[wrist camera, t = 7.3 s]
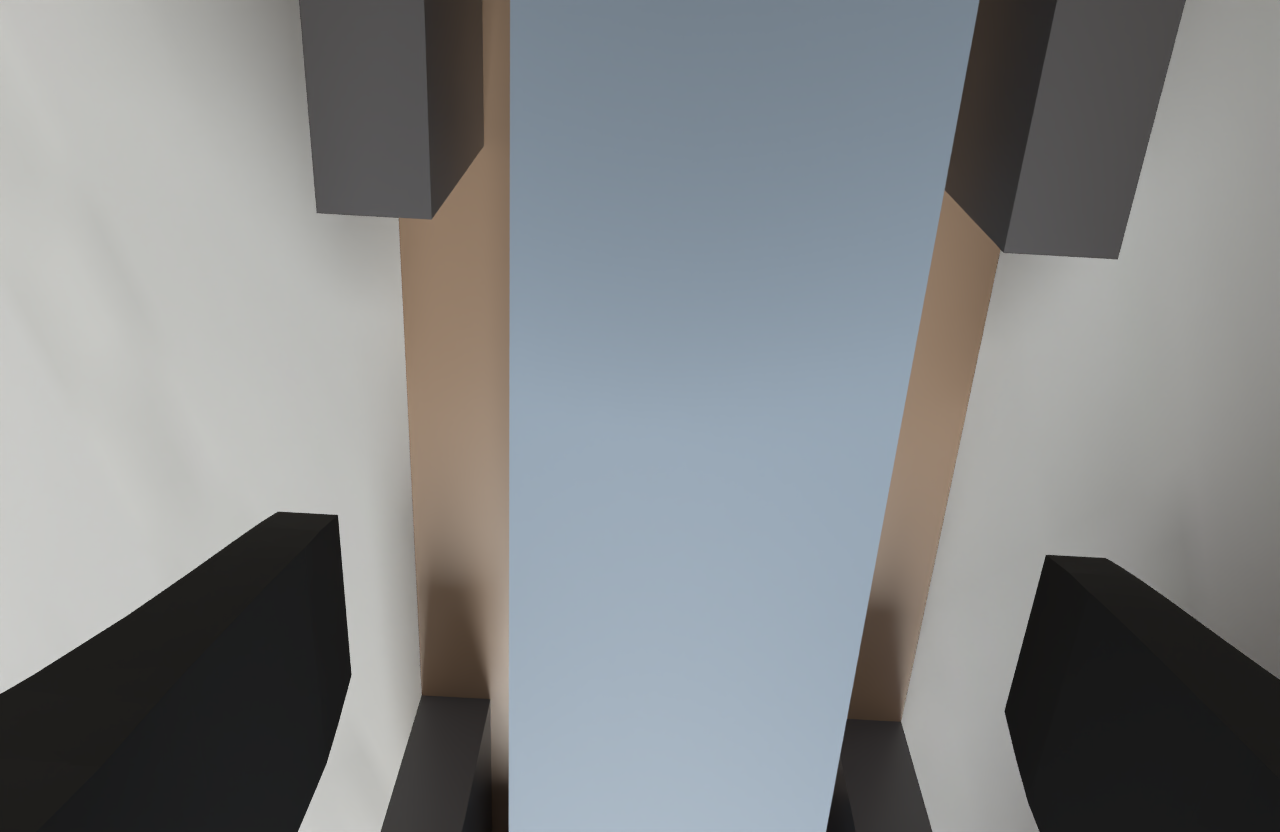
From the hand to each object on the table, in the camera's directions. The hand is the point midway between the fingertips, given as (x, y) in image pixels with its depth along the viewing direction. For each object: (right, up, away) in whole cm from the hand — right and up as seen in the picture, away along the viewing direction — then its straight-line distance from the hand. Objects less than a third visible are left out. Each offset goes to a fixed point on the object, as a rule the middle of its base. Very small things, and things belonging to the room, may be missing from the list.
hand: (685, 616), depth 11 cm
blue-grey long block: (0, +1, +3) cm, 3 cm away
